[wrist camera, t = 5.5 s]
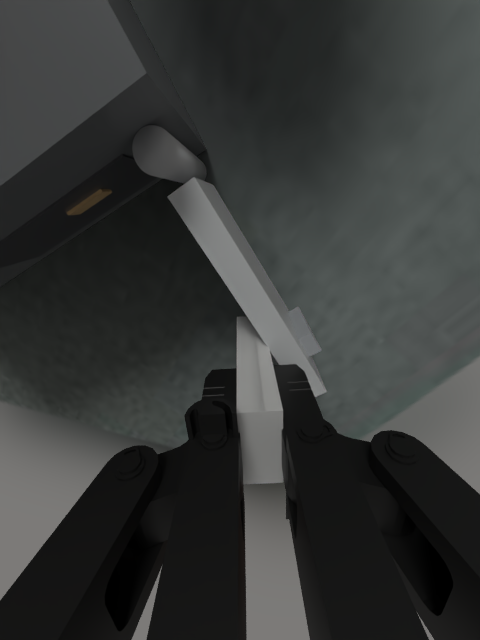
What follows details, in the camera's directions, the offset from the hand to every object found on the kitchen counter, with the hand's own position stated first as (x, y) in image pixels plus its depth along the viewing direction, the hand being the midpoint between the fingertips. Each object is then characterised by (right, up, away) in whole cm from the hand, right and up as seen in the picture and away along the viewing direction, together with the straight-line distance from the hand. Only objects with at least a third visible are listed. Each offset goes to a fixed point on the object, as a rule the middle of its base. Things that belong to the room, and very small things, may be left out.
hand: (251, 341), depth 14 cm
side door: (0, +4, +1) cm, 4 cm away
